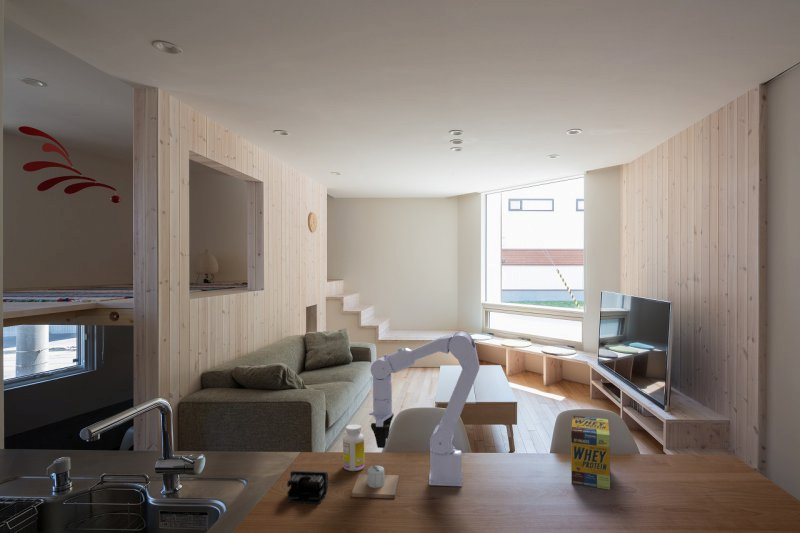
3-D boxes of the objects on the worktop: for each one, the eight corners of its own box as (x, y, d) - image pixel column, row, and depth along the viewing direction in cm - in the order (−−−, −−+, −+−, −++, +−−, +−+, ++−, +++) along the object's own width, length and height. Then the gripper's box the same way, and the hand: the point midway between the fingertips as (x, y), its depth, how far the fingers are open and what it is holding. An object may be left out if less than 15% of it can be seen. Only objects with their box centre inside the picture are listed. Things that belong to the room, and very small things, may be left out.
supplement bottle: (366, 463, 153) (365, 423, 153) (362, 472, 147) (362, 430, 147) (345, 462, 154) (345, 423, 154) (341, 471, 147) (340, 430, 147)
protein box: (571, 484, 137) (570, 430, 137) (573, 463, 151) (572, 414, 151) (610, 490, 133) (610, 435, 133) (609, 468, 148) (608, 418, 148)
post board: (399, 478, 142) (398, 467, 142) (394, 498, 130) (394, 485, 130) (359, 477, 143) (359, 466, 143) (351, 496, 131) (351, 484, 131)
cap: (365, 482, 138) (365, 465, 138) (380, 479, 140) (380, 463, 140) (371, 488, 134) (371, 472, 134) (386, 485, 135) (386, 469, 135)
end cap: (328, 491, 134) (328, 467, 134) (322, 504, 127) (322, 479, 127) (294, 490, 135) (293, 466, 135) (285, 503, 128) (285, 478, 128)
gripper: (373, 391, 152) (373, 433, 152) (365, 404, 138) (365, 451, 138) (395, 391, 151) (395, 434, 151) (389, 404, 137) (390, 452, 137)
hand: (382, 442), depth 144 cm, fingers open, 7 cm apart
